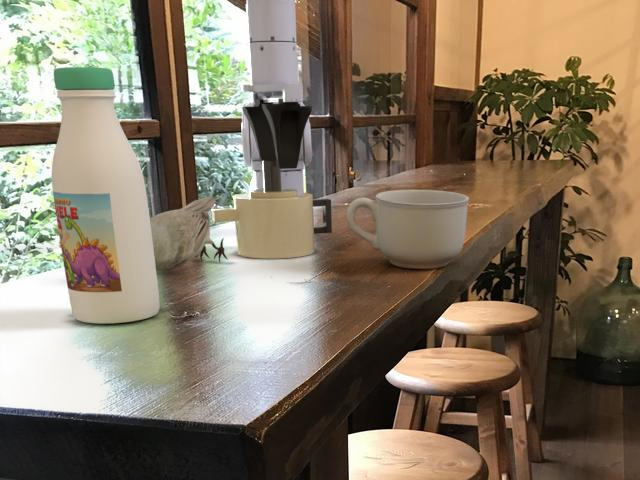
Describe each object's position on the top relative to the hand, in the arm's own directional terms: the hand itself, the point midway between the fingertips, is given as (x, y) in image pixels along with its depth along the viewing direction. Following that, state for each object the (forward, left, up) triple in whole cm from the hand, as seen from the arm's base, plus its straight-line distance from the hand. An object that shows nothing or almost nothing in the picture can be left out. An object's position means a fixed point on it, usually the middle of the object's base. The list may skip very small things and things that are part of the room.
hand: (278, 166), depth 101 cm
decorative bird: (+8, -16, -10) cm, 21 cm away
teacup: (+16, +10, -10) cm, 22 cm away
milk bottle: (+28, -25, -10) cm, 39 cm away
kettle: (0, -1, -10) cm, 10 cm away
